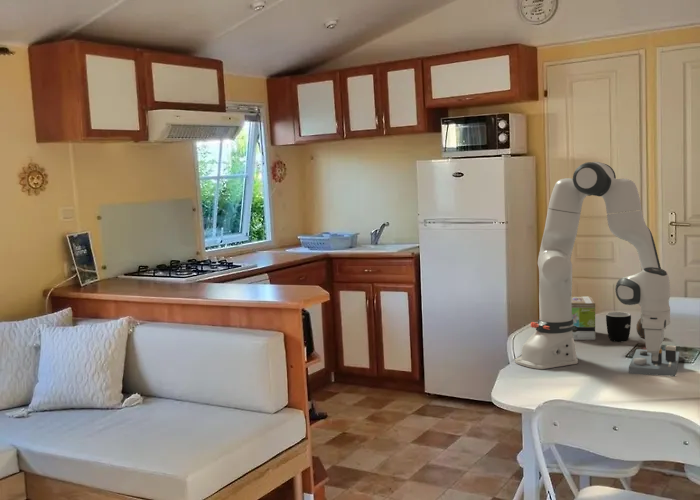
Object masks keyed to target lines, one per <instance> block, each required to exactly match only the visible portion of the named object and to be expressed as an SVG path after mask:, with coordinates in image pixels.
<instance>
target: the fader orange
mask: <svg viewBox="0 0 700 500" xmlns="http://www.w3.org/2000/svg"><path fill="white" fill-rule="evenodd" d="M662 351H663V348H662V347H661V348H660V351H659V359H658V361H653V360H652V353H651V361H652V363H658V364H661V363H662Z"/></svg>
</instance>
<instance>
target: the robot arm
mask: <svg viewBox="0 0 700 500" xmlns="http://www.w3.org/2000/svg"><path fill="white" fill-rule="evenodd" d="M588 196H589V197H590V196H594V197H601V198H602V199H603V200H604V204H605V210H606V211H605V212H606V219H607V220H606V221H607V225H608V229H609V231H610V232H611V234H612V235H614V236H615V237H617V238H619V239H620V240H623V241H625V242H628V243H629V244H631V245H633V247H634V248H635V249H636V252H637V255H638V260H639V263H640V267H641V271H639V272H637V273H634V274H631V275H627V276H624V277H621V278H619V279H618V281H617V282H616V284H615V288H614V290H615V296H616V298H617V299H618V301H619V302H620V303H621V304H623V305H627V306H635V305H639V306H640V318H641V324H642V328H644V333H645V338H644V342H645V350H647V352H648V353H652V360H653V361H658V359H659V351H660V348H662V345H663V342H664V337H665V330H666V329H667V327H668V326H669V325H670V324H671V306H670V298H671V284H670V283H671V282H670V276H669V274H668V272H667V271H666V270H664V269H663V268H662V267H661V263H660V259H659V255H658V252H657V248H656V243H655V240H654V236H653V233H652V232H651V230H650V228H649V227H648V226H647V224H646V222H645V219H644V216H643V215H644V214H643V210H642V204H641V199H640V194H639V191H638V188H637V184H636V182H634V180H631V179H628V178H617V176H616V173H615V170H614V169H613V167H611V166H610V165H608V164H606V163H603V162H600V161H588V162H585V163H582V164H580V165H579V166H578V167H576V169H575V171H574V172H573V174H572V178H571V177H570V178H568V177H567V178H566V177H565V178H560V179H558V180H557V181H556V182H555V184H554V186H553V189H552V191H551V194H550V198H549V203H548V206H547V212H546V213H547V214H546V218H545V225H544V229H543V234H542V237H541V243H540V247H539V252H538V257H537V266H538V275H539V276H538V279H539V280H538V303H539V304H538V307H539V308H538V309H539V313H538V314H539V319H538V320H537V322H534V321H531V322H530V326H531V328H534V329H535V331H534V332H533V333H532V335H531V336H530V337H529V338H528V339H527V340H525V342H524V343H523V345H522V347H521V356H518V357H516V358H515V359H514V363H516V364H517V365H520V366H522V367H527V368H531V369H537V370H545V369H551V368H559V367H564V366H570V365H576V364H579V359H578V356H577V351H576V344H575V340H574V338H573V332H572V330H573V325H574V324H573V319H572V297H573V292H572V291H573V262H572V260H571V259H572V254H573V251H574V247H575V246H574V245H575V241H576V239H577V235H578V229H579V223H580V219H581V214H582V213H581V212H582V207H583V203H584V200H585V198H586V197H588Z"/></svg>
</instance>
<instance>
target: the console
mask: <svg viewBox="0 0 700 500" xmlns="http://www.w3.org/2000/svg"><path fill="white" fill-rule="evenodd" d="M680 355H681V354H680V351H676V361H667V360H666V350H662V363H661V364H658V363H652V361H651V353H648V352H647V350H646V349H641V348H640V349H639V348H636V350H635V352H634V354H633V356H632V358H631V361H630V363H629V365H628V374H635V375H637V374H638V375H639V374H640V375H648V376H649V375H651V376H666V377H667V376H668V377H676V375H677V372H678V371H677V370H678V365H679V362H680V358H679V357H680Z"/></svg>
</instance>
